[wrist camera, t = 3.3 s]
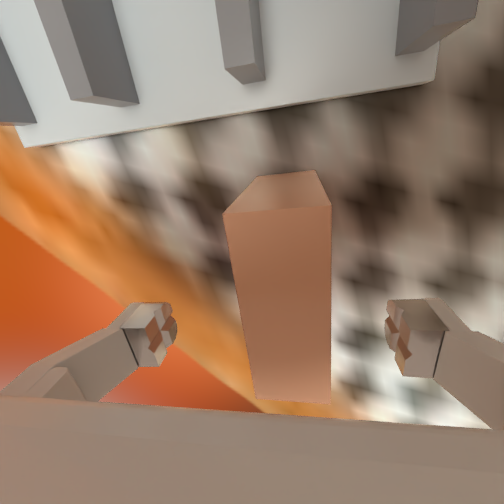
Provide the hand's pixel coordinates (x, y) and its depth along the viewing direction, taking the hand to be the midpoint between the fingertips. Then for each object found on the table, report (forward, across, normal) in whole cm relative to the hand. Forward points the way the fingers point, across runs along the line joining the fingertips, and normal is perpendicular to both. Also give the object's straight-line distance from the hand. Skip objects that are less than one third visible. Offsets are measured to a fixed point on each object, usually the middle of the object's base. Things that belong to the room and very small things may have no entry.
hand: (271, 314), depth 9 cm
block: (+6, -1, 0) cm, 6 cm away
